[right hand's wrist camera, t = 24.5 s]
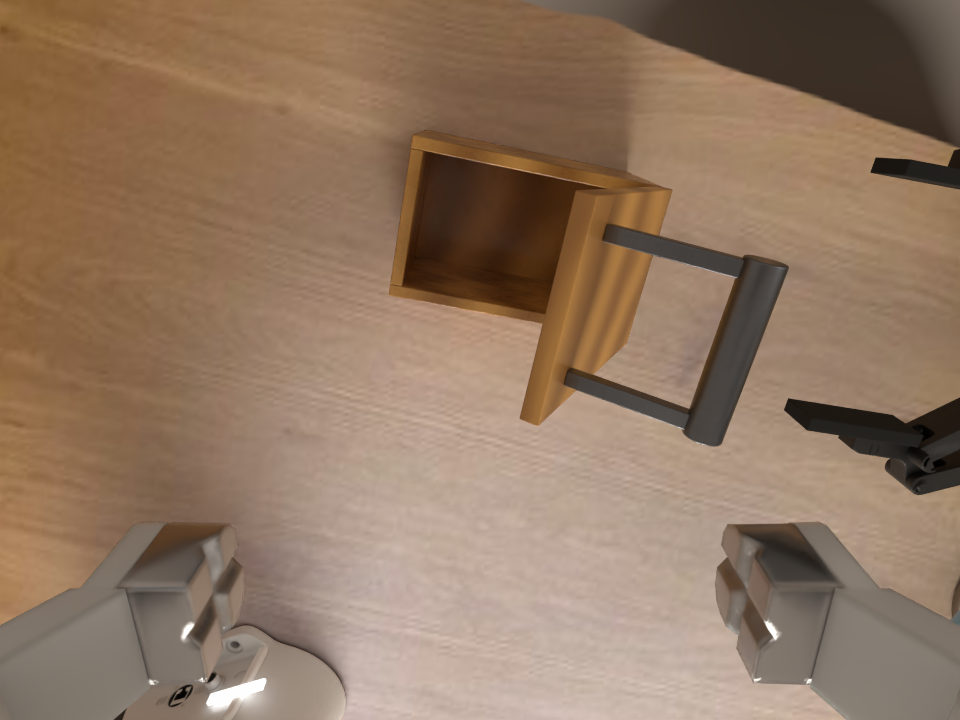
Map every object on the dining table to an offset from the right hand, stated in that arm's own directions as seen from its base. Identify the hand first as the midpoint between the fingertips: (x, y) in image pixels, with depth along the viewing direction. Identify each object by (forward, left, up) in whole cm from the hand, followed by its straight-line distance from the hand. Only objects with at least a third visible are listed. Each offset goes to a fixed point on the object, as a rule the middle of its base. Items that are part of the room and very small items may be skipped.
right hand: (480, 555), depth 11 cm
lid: (+6, -2, -22) cm, 23 cm away
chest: (+2, -1, -38) cm, 38 cm away
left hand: (+18, -6, -24) cm, 31 cm away
